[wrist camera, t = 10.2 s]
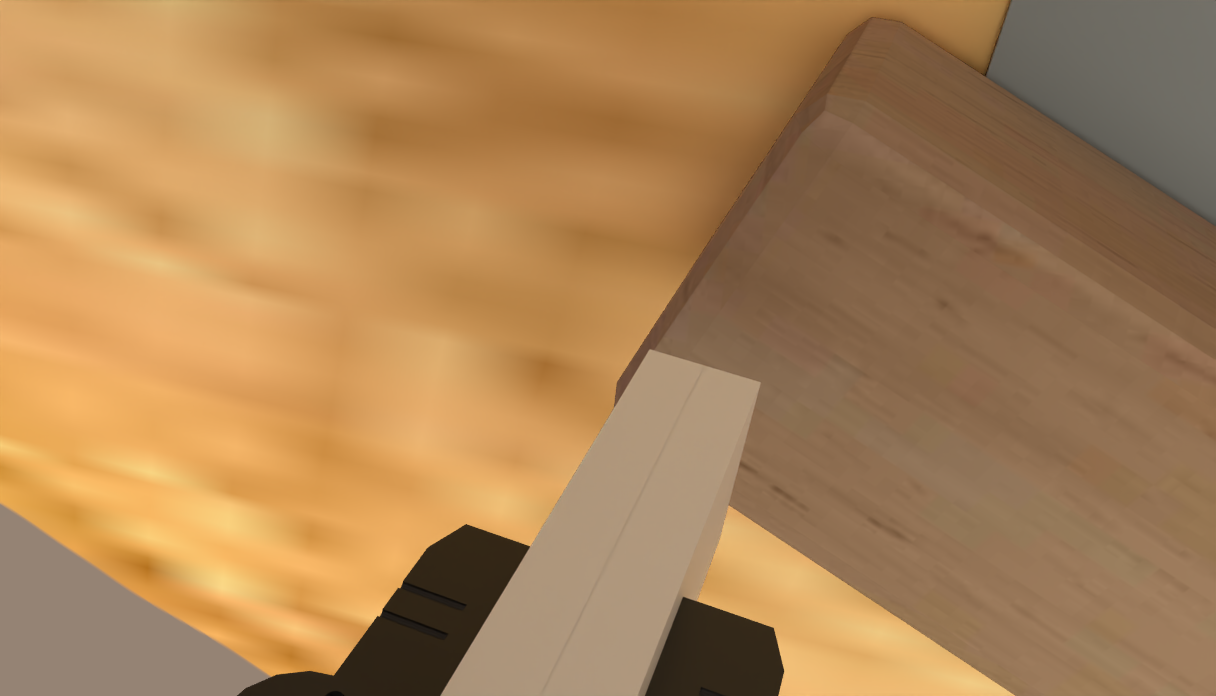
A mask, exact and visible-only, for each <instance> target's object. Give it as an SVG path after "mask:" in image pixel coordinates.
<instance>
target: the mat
mask: <svg viewBox="0 0 1216 696" xmlns="http://www.w3.org/2000/svg"><path fill="white" fill-rule="evenodd" d="M985 77H987V78H988V79H990V80H991V81H993V82H994V83H996V84H997V85H999V86H1000V87H1002V88H1003V89H1005V90H1007V91H1008V92H1010V93H1011V94H1013V95H1014V96H1016V97H1017V98H1019V99H1020V100H1022V101H1023V102H1025V103H1027V104H1028V105H1030V106H1031V107H1033V108H1034V109H1036V110H1037V111H1039V112H1040V113H1042V114H1043V115H1045V116H1047V117H1048V118H1050V119H1051V120H1053V121H1054V122H1056V123H1057V124H1059V125H1060V126H1062V127H1063V128H1065V129H1067V130H1068V131H1070V132H1071V133H1073V134H1074V135H1076V136H1077V137H1079V138H1080V139H1082V140H1083V141H1085V142H1087V143H1088V144H1090V145H1091V146H1093V147H1094V148H1096V149H1097V150H1099V151H1100V152H1102V153H1103V154H1105V155H1106V156H1108V157H1110V158H1111V159H1113V160H1114V161H1116V162H1117V163H1119V164H1120V165H1122V166H1123V167H1125V168H1126V169H1128V170H1130V171H1131V172H1133V173H1134V174H1136V175H1137V176H1139V177H1140V178H1142V179H1143V180H1145V181H1146V182H1148V183H1150V184H1151V185H1153V186H1154V187H1156V188H1157V189H1159V190H1160V191H1162V192H1163V193H1165V194H1166V195H1168V196H1170V197H1171V198H1173V199H1174V200H1176V201H1177V202H1179V203H1180V204H1182V205H1183V206H1185V207H1186V208H1188V209H1190V210H1191V211H1193V212H1194V213H1196V214H1197V215H1199V216H1200V217H1202V218H1203V219H1205V220H1206V221H1208V222H1210V223H1211V224H1213V225H1214V226H1216V0H1011V1H1010V4H1009V7H1008V10H1007V13H1006V16H1005V19H1004V22H1003V25H1002V28H1001V31H1000V34H999V37H998V40H997V43H996V46H995V49H994V51H993V54H992V57H991V60H990V63H989V66H988V69H987V72H986V75H985Z"/></svg>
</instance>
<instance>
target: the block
mask: <svg viewBox="0 0 1216 696" xmlns="http://www.w3.org/2000/svg"><path fill="white" fill-rule="evenodd" d="M650 349H651V350H654V351H657V352H661V353H664V354H667V355H671V356H674V357H678V358H681V359H684V360H688V361H691V362H694V363H698V364H701V365H704V366H708V367H711V368H714V369H718V370H721V371H725V372H728V373H731V374H735V375H738V376H741V377H745V378H748V379H751V380H755V381H758V382H761V384H760V387H759V391H758V395H757V399H756V403H755V406H754V410H753V414H752V418H751V422H750V425H749V429H748V433H747V437H746V441H745V444H744V448H743V452H742V456H741V460H740V463H739V467H738V471H737V475H736V479H735V482H734V486H733V490H732V494H731V497H730V501H729V505H730V506H731V507H733V508H734V509H736V510H737V511H739V512H740V513H742V514H743V515H745V516H746V517H748V518H749V519H751V520H752V521H754V522H755V523H757V524H758V525H760V526H761V527H763V528H764V529H766V530H767V531H769V532H770V533H772V534H773V535H775V536H776V537H778V538H779V539H781V540H782V541H784V542H785V543H787V544H788V545H790V546H791V547H793V548H794V549H796V550H797V551H799V552H800V553H802V554H803V555H805V556H806V557H808V558H809V559H811V560H812V561H814V562H815V563H817V564H818V565H820V566H821V567H823V568H824V569H826V570H827V571H829V572H830V573H832V574H833V575H835V576H836V577H838V578H839V579H841V580H842V581H844V582H845V583H847V584H848V585H850V586H851V587H853V588H854V589H856V590H857V591H859V592H860V593H862V594H863V595H865V596H866V597H868V598H869V599H871V600H872V601H874V602H875V603H877V604H879V605H880V606H882V607H883V608H885V609H886V610H888V611H889V612H891V613H892V614H894V615H895V616H897V617H898V618H900V619H901V620H903V621H904V622H906V623H907V624H909V625H910V626H912V627H913V628H915V629H916V630H918V631H919V632H921V633H922V634H924V635H925V636H927V637H928V638H930V639H931V640H933V641H934V642H936V643H937V644H939V645H940V646H942V647H943V648H945V649H946V650H948V651H949V652H951V653H952V654H954V655H955V656H957V657H958V658H960V659H961V660H963V661H964V662H966V663H967V664H969V665H970V666H972V667H973V668H975V669H976V670H978V671H979V672H981V673H982V674H984V675H985V676H987V677H988V678H990V679H991V680H993V681H994V682H996V683H997V684H999V685H1000V686H1002V687H1003V688H1005V689H1006V690H1008V691H1009V692H1011V693H1012V694H1014V695H1015V696H1216V226H1214V225H1213V224H1211V223H1210V222H1208V221H1206V220H1205V219H1203V218H1202V217H1200V216H1199V215H1197V214H1196V213H1194V212H1193V211H1191V210H1190V209H1188V208H1186V207H1185V206H1183V205H1182V204H1180V203H1179V202H1177V201H1176V200H1174V199H1173V198H1171V197H1170V196H1168V195H1166V194H1165V193H1163V192H1162V191H1160V190H1159V189H1157V188H1156V187H1154V186H1153V185H1151V184H1150V183H1148V182H1146V181H1145V180H1143V179H1142V178H1140V177H1139V176H1137V175H1136V174H1134V173H1133V172H1131V171H1130V170H1128V169H1126V168H1125V167H1123V166H1122V165H1120V164H1119V163H1117V162H1116V161H1114V160H1113V159H1111V158H1110V157H1108V156H1106V155H1105V154H1103V153H1102V152H1100V151H1099V150H1097V149H1096V148H1094V147H1093V146H1091V145H1090V144H1088V143H1087V142H1085V141H1083V140H1082V139H1080V138H1079V137H1077V136H1076V135H1074V134H1073V133H1071V132H1070V131H1068V130H1067V129H1065V128H1063V127H1062V126H1060V125H1059V124H1057V123H1056V122H1054V121H1053V120H1051V119H1050V118H1048V117H1047V116H1045V115H1043V114H1042V113H1040V112H1039V111H1037V110H1036V109H1034V108H1033V107H1031V106H1030V105H1028V104H1027V103H1025V102H1023V101H1022V100H1020V99H1019V98H1017V97H1016V96H1014V95H1013V94H1011V93H1010V92H1008V91H1007V90H1005V89H1003V88H1002V87H1000V86H999V85H997V84H996V83H994V82H993V81H991V80H990V79H988V78H987V77H985V76H983V75H982V74H980V73H979V72H977V71H976V70H974V69H973V68H971V67H970V66H968V65H967V64H965V63H963V62H962V61H960V60H959V59H957V58H956V57H954V56H953V55H951V54H950V53H948V52H947V51H945V50H943V49H942V48H940V47H939V46H937V45H936V44H934V43H933V42H931V41H930V40H928V39H927V38H925V37H923V36H922V35H920V34H919V33H917V32H916V31H914V30H913V29H911V28H910V27H908V26H907V25H905V24H904V23H902V22H898V21H892V20H886V19H880V18H874V17H872V18H870V19H869V20H867V21H866V22H864V23H863V24H861V25H860V26H859V27H857V28H856V29H854V30H853V31H851V32H850V33H849V34H847V35H846V37H845V38H844V40H843V41H842V43H841V44H840V46H839V47H838V49H837V50H836V52H835V53H834V55H833V56H832V58H831V59H830V61H829V63H828V64H827V66H826V67H825V69H824V70H823V72H822V73H821V75H820V76H819V78H818V79H817V81H816V82H815V84H814V85H813V87H812V88H811V90H810V91H809V93H808V94H807V96H806V97H805V99H804V100H803V102H802V103H801V105H800V106H799V108H798V109H797V111H796V112H795V114H794V115H793V117H792V118H791V120H790V121H789V123H788V124H787V126H786V127H785V129H784V130H783V132H782V133H781V135H780V136H779V138H778V139H777V141H776V142H775V144H774V145H773V147H772V148H771V150H770V151H769V153H768V154H767V156H766V157H765V159H764V160H763V162H762V163H761V165H760V166H759V168H758V169H757V171H756V172H755V174H754V175H753V177H752V178H751V180H750V181H749V183H748V184H747V186H746V187H745V189H744V190H743V192H742V193H741V195H740V196H739V198H738V199H737V201H736V202H735V204H734V205H733V207H732V208H731V210H730V211H729V213H728V214H727V216H726V217H725V219H724V220H723V222H722V223H721V225H720V226H719V228H718V229H717V231H716V232H715V234H714V235H713V237H712V238H711V240H710V241H709V243H708V244H707V246H706V247H705V249H704V250H703V252H702V253H701V255H700V256H699V258H698V259H697V261H696V262H695V264H694V265H693V267H692V268H691V270H690V271H689V273H688V274H687V276H686V278H685V279H684V281H683V282H682V284H681V285H680V287H679V288H678V290H677V291H676V293H675V294H674V296H673V297H672V299H671V300H670V302H669V304H668V305H667V307H666V308H665V310H664V311H663V313H662V314H661V316H660V317H659V319H658V320H657V322H656V323H655V325H654V327H653V328H652V330H651V331H650V333H649V334H648V336H647V337H646V339H645V340H644V342H643V343H642V345H641V346H640V348H639V350H638V351H637V353H636V354H635V356H634V357H633V359H632V360H631V362H630V363H629V365H628V366H627V368H626V369H625V371H624V373H623V374H622V376H621V377H620V379H619V380H618V382H617V387H616V396H615V404H614V407H615V406H616V404H617V403H618V401H619V399H620V398H621V396H622V394H623V393H624V391H625V389H626V388H627V386H628V384H629V383H630V381H631V379H632V378H633V376H634V374H635V373H636V371H637V369H638V368H639V366H640V364H641V363H642V361H643V359H644V358H645V356H646V355H647V353H648V351H649V350H650Z"/></svg>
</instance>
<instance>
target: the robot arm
mask: <svg viewBox="0 0 1216 696" xmlns="http://www.w3.org/2000/svg"><path fill="white" fill-rule="evenodd" d="M760 384H761V382H758V381H755V380H751V379H748V378H745V377H741V376H738V375H735V374H731V373H728V372H725V371H721V370H718V369H714V368H711V367H708V366H704V365H701V364H698V363H694V362H691V361H688V360H684V359H681V358H678V357H674V356H671V355H667V354H664V353H661V352H657V351H654V350H651V349H650V350H649V351H648V353H647V355H646V356H645V358H644V359H643V361H642V363H641V364H640V366H639V368H638V369H637V371H636V373H635V374H634V376H633V378H632V379H631V381H630V383H629V384H628V386H627V388H626V389H625V391H624V393H623V394H622V396H621V398H620V399H619V401H618V403H617V404H616V406H615V407H614V409H613V411H612V412H611V414H610V416H609V417H608V419H607V421H606V422H605V424H604V426H603V427H602V429H601V431H600V432H599V434H598V436H597V437H596V439H595V441H594V442H593V444H592V446H591V447H590V449H589V451H588V452H587V454H586V455H585V457H584V459H583V460H582V462H581V464H580V465H579V467H578V469H577V470H576V472H575V474H574V475H573V477H572V479H571V480H570V482H569V484H568V485H567V487H566V489H565V490H564V492H563V494H562V495H561V497H560V499H559V500H558V502H557V503H556V505H555V507H554V508H553V510H552V512H551V513H550V515H549V517H548V518H547V520H546V522H545V523H544V525H543V527H542V528H541V530H540V532H539V533H538V535H537V537H536V538H535V540H534V542H533V543H532V545H531V547H530V546H527V545H524V544H522V543H519V542H516V541H513V540H510V539H507V538H504V537H501V536H499V535H496V534H493V533H490V532H487V531H484V530H481V529H478V528H475V527H473V526H470V525H467V524H466V525H464V526H462V527H461V528H459V529H458V530H456V531H454V532H453V533H451V534H449V535H448V536H446V537H444V538H443V539H441V540H439V541H438V542H436V543H435V544H433V545H431V546H430V547H428V548H427V549H426V551H425V552H424V553H423V555H422V556H421V558H420V559H419V560H418V562H417V563H416V564H415V566H414V567H413V568H412V570H411V571H410V573H409V574H408V575H407V577H406V578H405V579H404V581H403V584H402V587H401V588H398V589H397V590H396V592H395V593H394V594H393V596H392V597H391V598H390V600H389V601H388V603H387V604H386V605H385V607H384V608H383V611H382V614H381V615H380V617H379V616H377V618H376V619H375V620H374V622H373V623H372V624H371V626H370V627H369V628H368V630H367V631H366V633H365V634H364V635H363V637H362V638H361V639H360V641H359V642H358V643H357V645H356V646H355V648H354V649H353V650H352V652H351V653H350V654H349V656H348V657H347V658H346V660H345V661H344V663H343V664H342V665H341V667H340V668H339V669H338V671H337V672H336V673H335V675H334V676H333V675H328V674H323V673H318V672H313V671H305V672H297V673H288V674H279V675H275V676H273V677H271V678H268V679H266V680H264V681H261V682H259V683H257V684H254V685H252V686H250V687H248V688H246V689H244V690H243V691H242V692H241V693H240V694H239V695H237V696H778V695H779V690H780V686H781V682H782V678H783V674H784V668H783V664H782V660H781V656H780V652H779V648H778V644H777V640H776V635H775V631H774V628H772V627H769V626H766V625H764V624H761V623H758V622H755V621H752V620H749V619H746V618H743V617H740V616H738V615H735V614H732V613H729V612H726V611H723V610H720V609H717V608H714V607H712V606H709V605H706V604H703V603H700V602H697V599H698V597H699V594H700V591H701V588H702V586H703V583H704V580H705V578H706V575H707V572H708V569H709V567H710V564H711V561H712V558H713V556H714V553H715V550H716V548H717V545H718V542H719V539H720V535H721V532H722V528H723V524H724V520H725V516H726V513H727V509H728V505H729V501H730V497H731V494H732V490H733V486H734V482H735V479H736V475H737V471H738V467H739V463H740V460H741V456H742V452H743V448H744V444H745V441H746V437H747V433H748V429H749V425H750V422H751V418H752V414H753V410H754V406H755V403H756V399H757V395H758V391H759V387H760Z"/></svg>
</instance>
